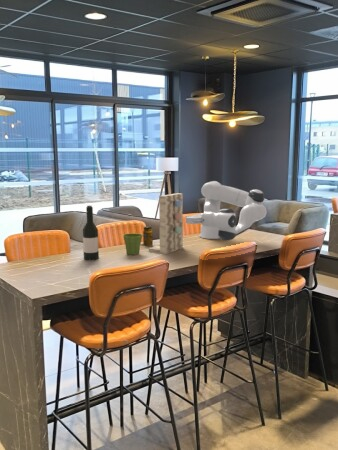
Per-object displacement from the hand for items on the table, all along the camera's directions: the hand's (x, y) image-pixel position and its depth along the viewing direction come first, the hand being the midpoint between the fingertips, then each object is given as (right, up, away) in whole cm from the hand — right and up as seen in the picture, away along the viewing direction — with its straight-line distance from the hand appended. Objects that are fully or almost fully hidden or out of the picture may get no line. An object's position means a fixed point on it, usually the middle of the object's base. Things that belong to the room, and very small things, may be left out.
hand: (186, 217), depth 257 cm
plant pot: (-32, -22, +1) cm, 38 cm away
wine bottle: (-54, -24, -10) cm, 60 cm away
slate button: (-7, +6, +3) cm, 10 cm away
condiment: (-25, -18, +25) cm, 39 cm away
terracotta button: (-7, -2, +5) cm, 8 cm away
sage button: (-7, -9, +6) cm, 13 cm away
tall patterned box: (-12, -20, +11) cm, 26 cm away
